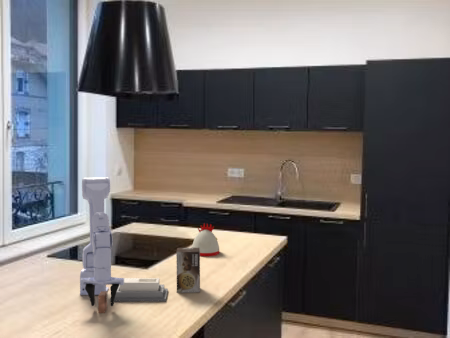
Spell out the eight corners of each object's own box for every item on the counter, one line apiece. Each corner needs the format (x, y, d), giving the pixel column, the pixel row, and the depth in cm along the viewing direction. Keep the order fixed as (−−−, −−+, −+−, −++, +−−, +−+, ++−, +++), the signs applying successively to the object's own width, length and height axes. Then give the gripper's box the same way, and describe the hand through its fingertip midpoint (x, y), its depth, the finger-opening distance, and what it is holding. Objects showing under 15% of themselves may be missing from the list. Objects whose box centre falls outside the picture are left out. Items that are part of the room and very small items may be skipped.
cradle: (110, 301, 193) (110, 293, 192) (115, 291, 205) (115, 283, 204) (165, 301, 194) (165, 293, 193) (167, 290, 206) (167, 283, 205)
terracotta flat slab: (98, 313, 181) (98, 295, 181) (101, 308, 186) (101, 291, 186) (104, 313, 181) (104, 295, 181) (106, 308, 186) (106, 291, 186)
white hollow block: (158, 295, 197) (158, 282, 196) (120, 295, 196) (119, 282, 196) (159, 291, 202) (159, 278, 202) (122, 291, 202) (122, 278, 201)
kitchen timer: (218, 256, 259) (219, 226, 258) (190, 256, 259) (190, 225, 258) (219, 249, 273) (219, 220, 271) (192, 249, 273) (192, 220, 272)
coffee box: (199, 287, 210) (200, 247, 209) (200, 292, 204) (200, 251, 203) (176, 287, 210) (176, 247, 208) (176, 292, 203) (176, 251, 202)
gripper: (78, 269, 178) (78, 309, 179) (122, 269, 179) (122, 309, 180) (82, 263, 185) (83, 302, 186) (125, 263, 186) (125, 301, 187)
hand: (102, 305), depth 184 cm, fingers open, 6 cm apart
